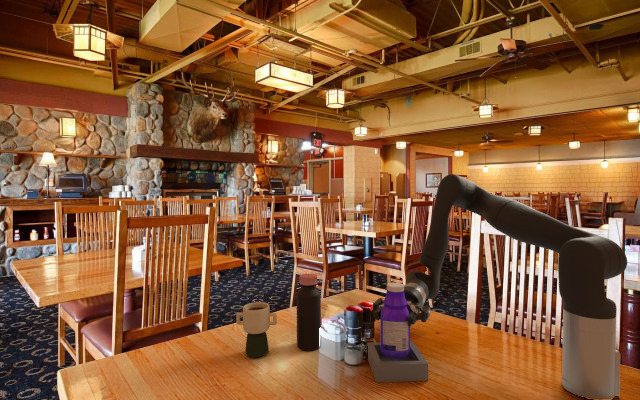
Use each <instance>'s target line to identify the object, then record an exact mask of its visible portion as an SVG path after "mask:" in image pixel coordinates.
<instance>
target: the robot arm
mask: <svg viewBox="0 0 640 400" xmlns="http://www.w3.org/2000/svg"><path fill="white" fill-rule="evenodd" d="M453 207H456V208H458V209H462V210H466V211H469V212H471V213H473V214H475V215H478V216H480V217H481V218H483V219H484V220H485V221H486V222H487V224H488V225H490V226H491V227H492V228H493V229H495V230H496V231H498V232H500V233H501V234H504V235H506V236H507V237H509V238H511V239H512V240H515V241H519V242H521V243H524V244H528V245H531V246H536V247H538V248H542V249H543V248H544V249H546V250H549V251H553V252H555V253H556V254H557V253H558V256H557V257H558V258H557V271H558V272H557V273H558V278H557V279H558V291H559V295H560V298H561V300H562V309H563V310H562V358H561V359H562V363H561V364H562V368H561V371H562V372H561V373H562V374H561V385H562V387H563V388H564V389H565V390H566V391H568V393H570V392H571V393H570V394H572V393H573V394H572V395H574V394H575V395H574V396H576V395H578V396H577V397H579V396H583V397H588V398H592V399H611V398H613V397H614V396H615V395H619V396H620V395H621V394H620V392H621V391H620V390H621V389H620V388H621V386H620V385H621V383H620V382H621V353H620V351H619V350H617V311H618V309H617V304H616V303H615V301H614V300H613V299H610V298H609V297H607V296H606V284H605V280H609V279H612V278H615V277H618V276H620V275H622V274H623V273H624V272H625V270H626V269H627V267H628V257H627V255H626V253H625V252H624V250H623V248H622V247H621V246H620V245H619V244H618V243H616V242H615V241H613V240H611V239H609V238H607V237H606V236H602V235H599V234H595V233H592V232H589V231H586V230H583V229H580V228H577V227H574V226H572V225H569V224H567V223H565V222H562V221H560V220H558V219H556V218H554V217H552V216H550V215H548V214H546V213H544V212H541V211H539V210H537V209H535V208H533V207H531V206H529V205H526V204H525V203H522V202H520V201H518V200H515V199H512V198H509V197H506V196H501V195H496V194H494V193H491V192H489V191H488V190H486V189H484V188H483V187H481V186H479V185H478V184H476V183H475V182H473V181H471V180H470V179H467V178H465V177H463V176H460V175H459V174H454V173H450V174H449V173H448V174H447V175H445V176H444V177H443V178H442V179H441V180H440V182H439V184H438V187H437V189H436V195H435V199H434V205H433V210H432V215H431V221H430V224H429V225H430V226H429V230H428V234H427V237H426V240H425V243H424V246H423V248H422V250H421V254H420V256H419V262H420V264H421V265H422V266H424V267H425V268H427V269H428V270H429V271H430V274H431V275H430V274H427V273H425V272H422V271H420V270H418V269H413V270H411V271H409V272H408V273H407V275H406V278H405V284H403V285H404V295H405V299H406V301H407V309H408V311H409V314H410V315H409V316H408V326H410V327H412V325H415V324H416V323H418V322H419V321H420V322H421V323H427V321H428V320H429V318H430V316H431V305H430V304H425V302H426V301H427V300H433V299H435V298H436V297H437V296H438V294H439V291H440V284H441V283H440V282H441V281H440V280H441V273H442V272H441V271H442V266H443V263H444V260H445V257H446V255H447V252H448V250H449V247H450V246H449V245H450V231H449V220H450V213H451V210H452V208H453ZM383 300H384V298H382V297H378V298H377V299H376V300H375V301H374V302H373V303H372V314H374V319H375V320H376V321H380V316H381V315H380V313H381V310H382V308H383V306H384V303H383Z"/></svg>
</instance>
